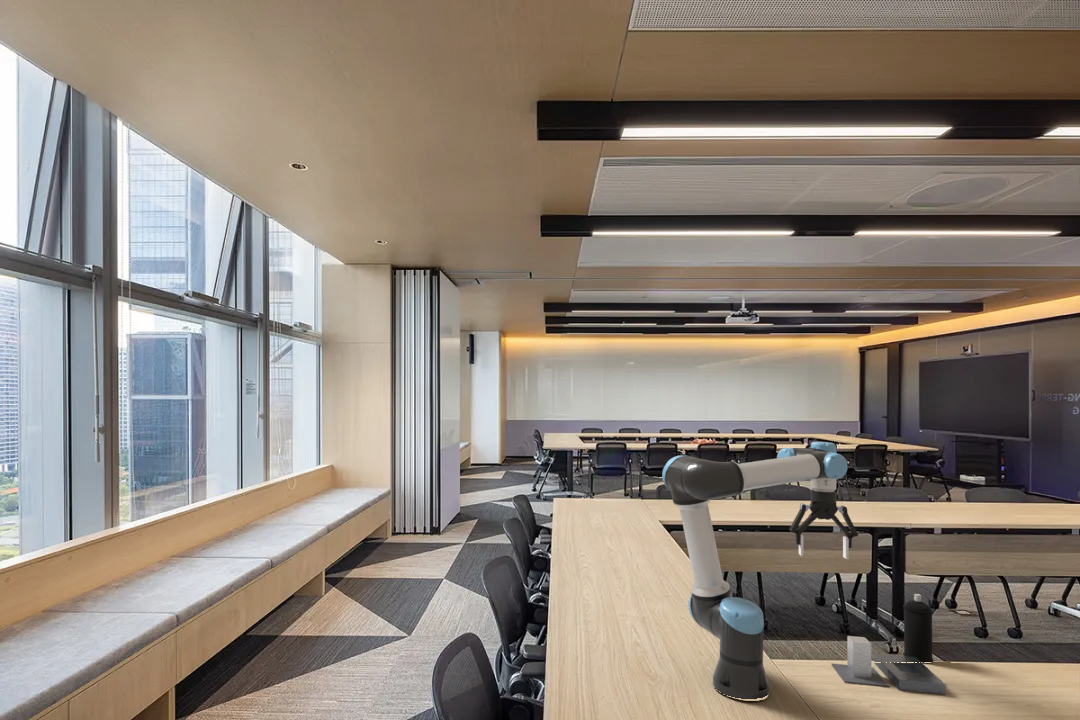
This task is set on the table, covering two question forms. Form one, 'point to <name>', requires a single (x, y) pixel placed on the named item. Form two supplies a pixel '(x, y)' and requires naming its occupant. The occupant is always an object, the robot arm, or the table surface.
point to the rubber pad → (848, 678)
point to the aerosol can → (918, 630)
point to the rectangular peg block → (859, 657)
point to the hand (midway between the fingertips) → (823, 556)
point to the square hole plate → (909, 674)
